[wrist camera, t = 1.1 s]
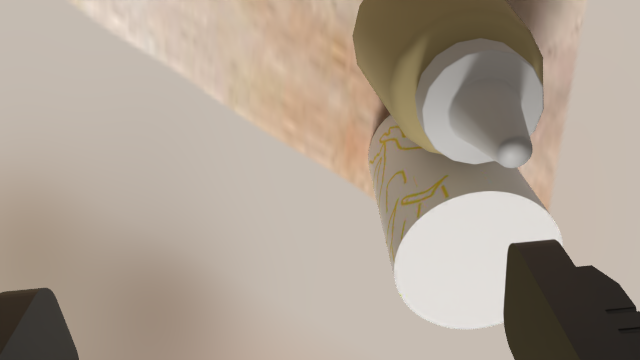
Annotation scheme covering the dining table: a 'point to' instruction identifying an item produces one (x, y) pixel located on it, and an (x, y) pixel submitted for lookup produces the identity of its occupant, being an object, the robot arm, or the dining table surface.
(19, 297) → the robot arm
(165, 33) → the dining table surface
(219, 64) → the dining table surface
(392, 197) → the white cylinder
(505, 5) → the squeeze bottle
